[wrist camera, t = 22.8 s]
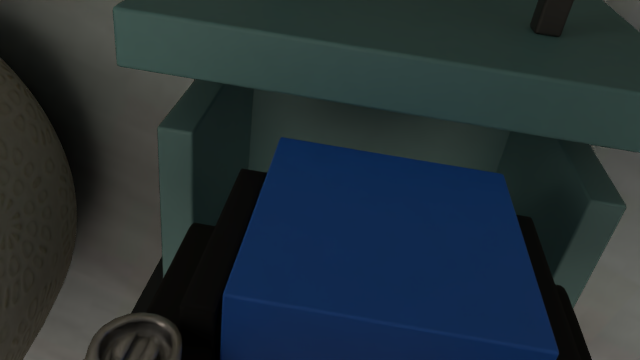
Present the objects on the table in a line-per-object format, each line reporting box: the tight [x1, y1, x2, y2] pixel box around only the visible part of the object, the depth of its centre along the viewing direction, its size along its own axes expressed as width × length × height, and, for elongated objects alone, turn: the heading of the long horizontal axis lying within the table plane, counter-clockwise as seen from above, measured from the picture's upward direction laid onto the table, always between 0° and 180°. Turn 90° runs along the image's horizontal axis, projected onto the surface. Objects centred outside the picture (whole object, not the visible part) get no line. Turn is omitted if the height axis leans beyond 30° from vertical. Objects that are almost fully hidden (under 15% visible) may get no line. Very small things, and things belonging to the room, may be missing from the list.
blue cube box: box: [220, 137, 559, 360], centre depth 10 cm, size 4×4×4 cm
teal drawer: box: [113, 0, 640, 308], centre depth 16 cm, size 19×11×8 cm, turn 173°
